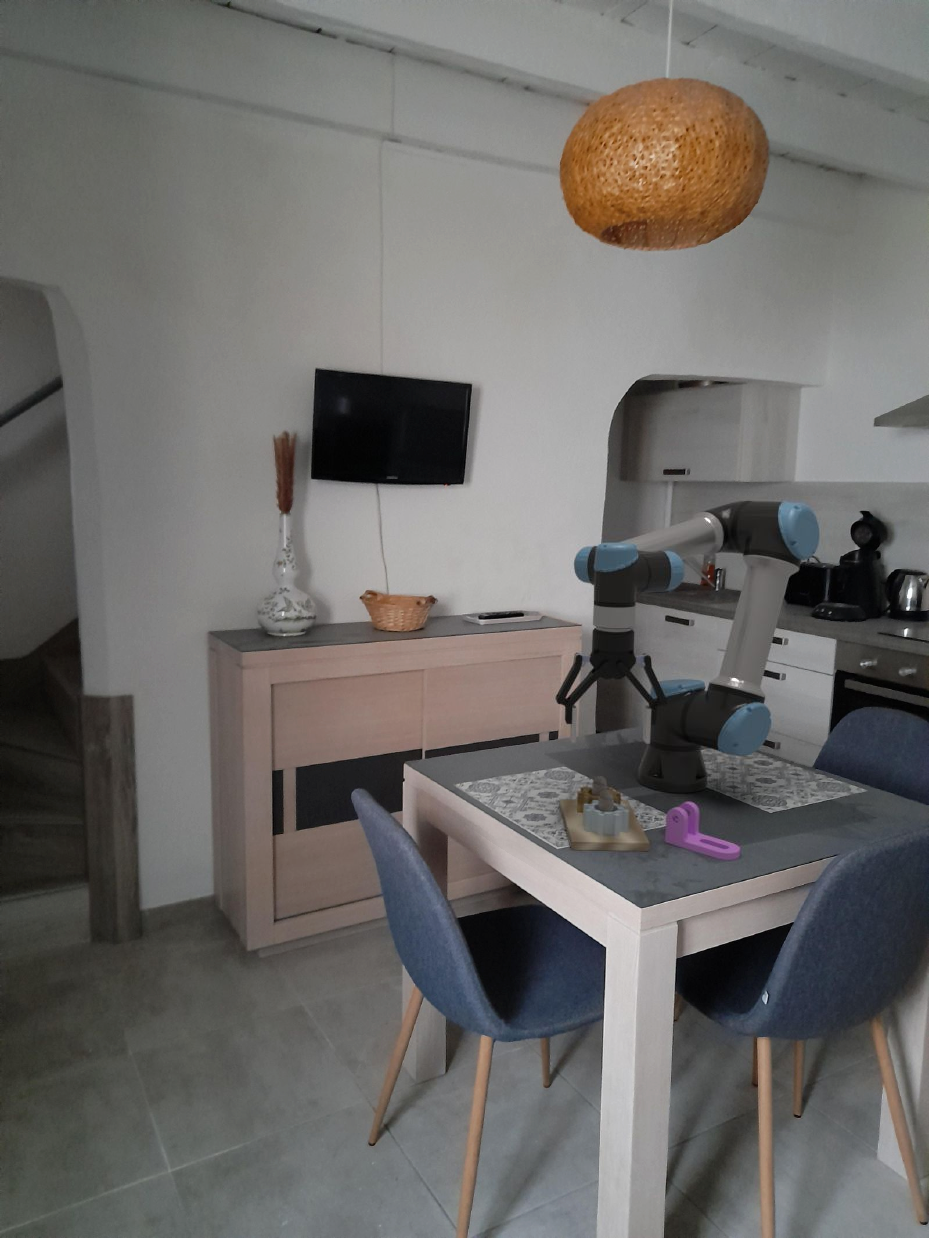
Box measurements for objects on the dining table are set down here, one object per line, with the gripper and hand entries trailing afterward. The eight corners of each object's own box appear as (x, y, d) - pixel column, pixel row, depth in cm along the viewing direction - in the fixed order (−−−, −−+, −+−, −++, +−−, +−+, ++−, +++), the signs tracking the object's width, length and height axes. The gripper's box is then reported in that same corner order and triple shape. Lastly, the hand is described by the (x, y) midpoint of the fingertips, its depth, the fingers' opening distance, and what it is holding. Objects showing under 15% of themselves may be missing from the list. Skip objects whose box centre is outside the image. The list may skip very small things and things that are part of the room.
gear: (623, 820, 170) (624, 800, 170) (630, 836, 162) (631, 815, 161) (580, 819, 170) (581, 799, 170) (586, 835, 162) (587, 815, 161)
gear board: (627, 807, 181) (629, 766, 180) (649, 850, 160) (651, 804, 158) (559, 806, 181) (560, 764, 180) (571, 849, 160) (573, 802, 158)
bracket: (665, 842, 164) (666, 806, 163) (680, 834, 168) (682, 799, 167) (730, 863, 155) (733, 825, 154) (744, 854, 159) (747, 817, 158)
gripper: (677, 625, 164) (672, 735, 167) (543, 624, 164) (540, 734, 167) (687, 632, 157) (681, 747, 160) (546, 631, 157) (544, 746, 160)
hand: (609, 741), depth 164 cm, fingers open, 13 cm apart
